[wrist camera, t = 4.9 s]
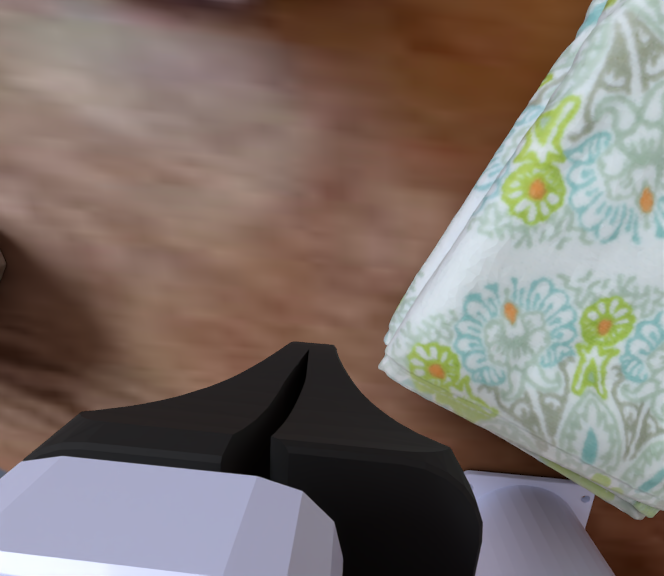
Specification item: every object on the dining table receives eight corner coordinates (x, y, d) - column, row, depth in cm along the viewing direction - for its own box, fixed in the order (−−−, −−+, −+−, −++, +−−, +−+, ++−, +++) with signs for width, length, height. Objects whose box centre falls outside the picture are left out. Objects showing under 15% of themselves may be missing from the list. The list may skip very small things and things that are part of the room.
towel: (364, 346, 22) (365, 391, 17) (610, -40, 17) (713, -134, 12) (621, 487, 23) (691, 568, 18) (933, 169, 18) (1152, 163, 13)
